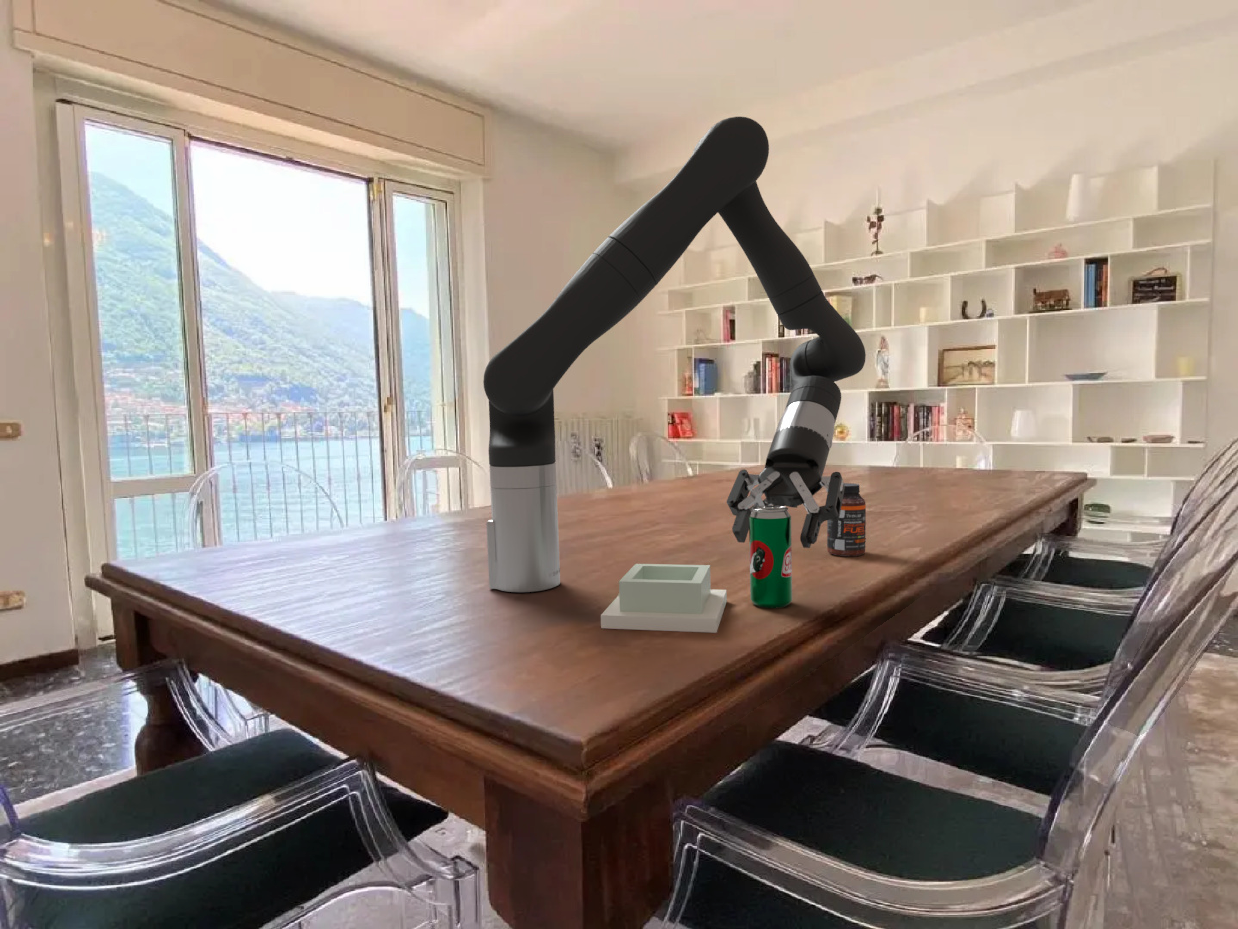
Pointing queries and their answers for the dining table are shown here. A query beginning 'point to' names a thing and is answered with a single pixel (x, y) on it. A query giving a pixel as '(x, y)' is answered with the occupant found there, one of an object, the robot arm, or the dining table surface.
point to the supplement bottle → (848, 525)
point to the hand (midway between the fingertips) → (771, 541)
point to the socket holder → (666, 600)
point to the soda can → (770, 556)
